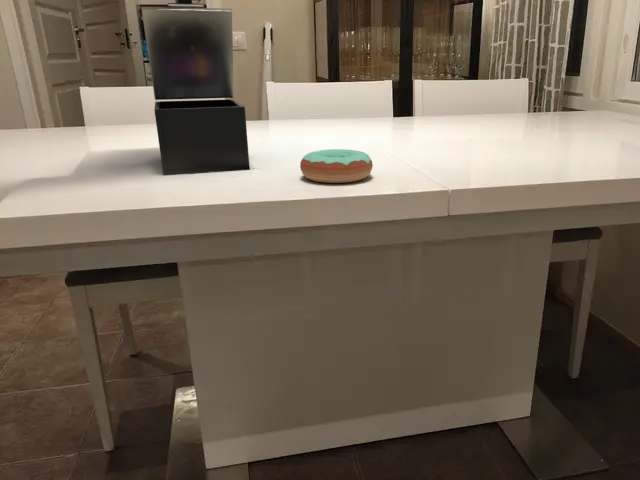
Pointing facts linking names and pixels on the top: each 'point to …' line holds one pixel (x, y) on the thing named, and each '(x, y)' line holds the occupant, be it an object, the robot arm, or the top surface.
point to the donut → (336, 166)
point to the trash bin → (202, 136)
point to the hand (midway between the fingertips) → (190, 69)
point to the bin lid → (189, 51)
